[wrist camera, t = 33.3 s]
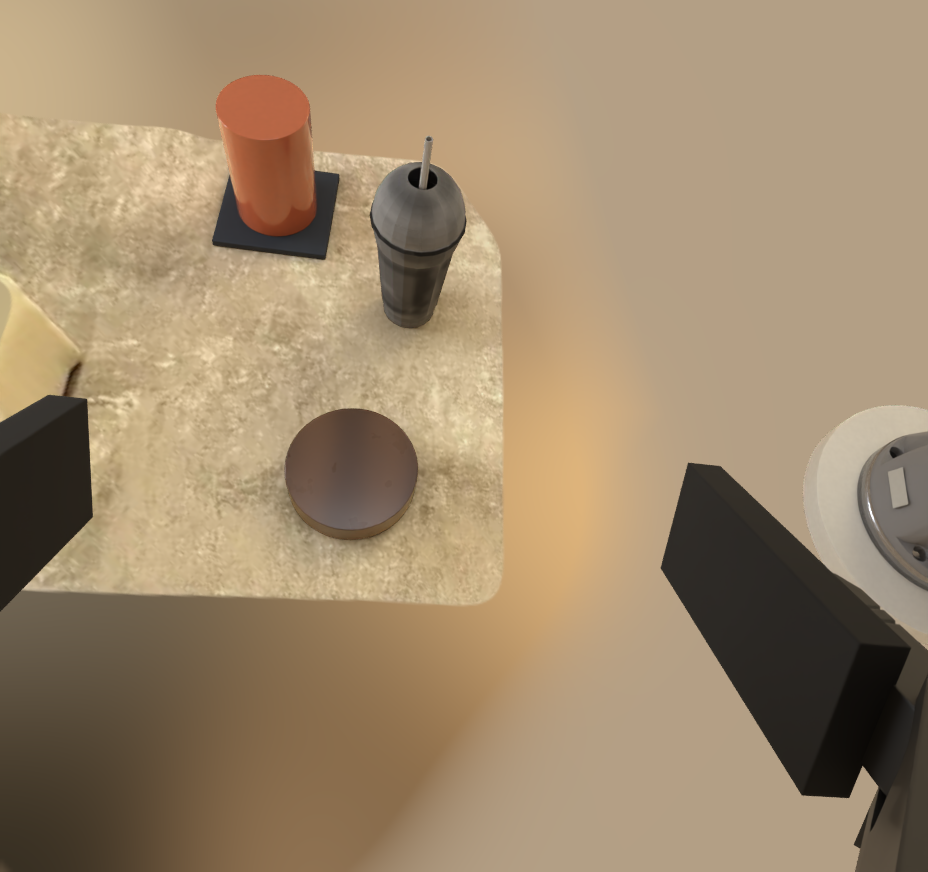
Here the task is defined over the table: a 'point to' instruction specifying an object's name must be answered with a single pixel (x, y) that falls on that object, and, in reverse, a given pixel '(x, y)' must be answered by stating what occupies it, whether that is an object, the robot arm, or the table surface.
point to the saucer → (351, 473)
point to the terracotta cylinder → (269, 153)
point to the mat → (299, 244)
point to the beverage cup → (416, 237)
